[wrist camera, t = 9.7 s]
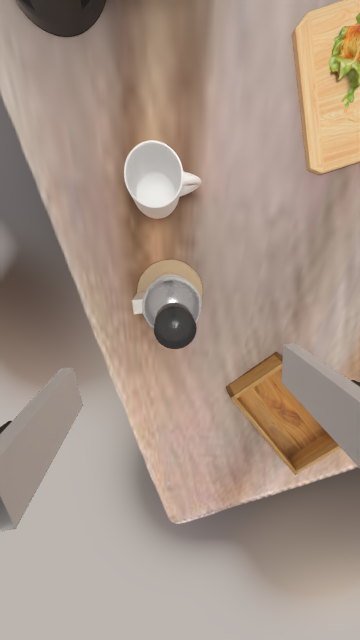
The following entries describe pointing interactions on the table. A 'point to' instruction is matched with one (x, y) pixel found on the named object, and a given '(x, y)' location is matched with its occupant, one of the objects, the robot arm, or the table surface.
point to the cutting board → (329, 85)
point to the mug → (156, 178)
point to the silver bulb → (172, 313)
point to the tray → (280, 416)
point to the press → (162, 273)
